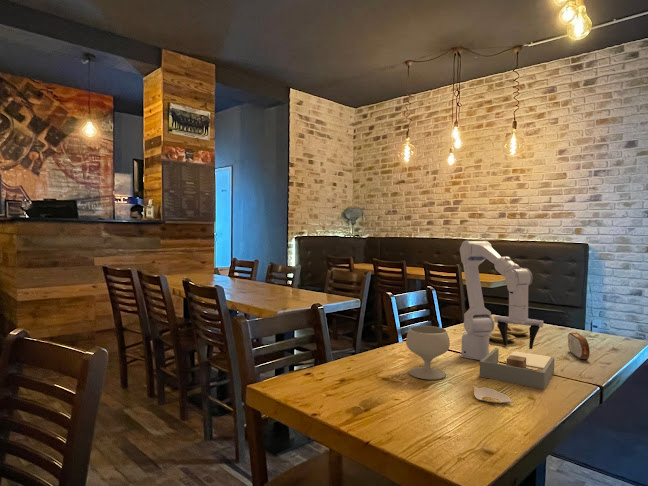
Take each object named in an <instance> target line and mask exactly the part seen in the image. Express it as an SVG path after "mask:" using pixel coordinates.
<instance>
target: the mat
mask: <svg viewBox="0 0 648 486" xmlns="http://www.w3.org/2000/svg"><path fill="white" fill-rule="evenodd" d="M510 355H514V356H520V357H526V367H531V368H537V369H541V370H543V368H544V367H545V365H546V364H547V362H548V361H549V359H550V358H551V357H552V356H548V355H540V354H537V353H536V354H535V353H530V352H529V353H528V352H522V351H517V350H516V351H515V350H513V351H512V352H511V353H510V354H509V355H508V356H507V357H506V358H505V359H504V360H503V362H504V363H507V358H508V357H509V356H510Z"/></svg>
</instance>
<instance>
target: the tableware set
mask: <svg viewBox="0 0 648 486" xmlns="http://www.w3.org/2000/svg"><path fill="white" fill-rule="evenodd" d="M528 333H529V329H525V328H523V327H522V328H521V327H513V326H510V325H509V324H508V329H507V340H508V342H507V345H506V346H505V345H504V342H503V338H502V335H501V333H500V332H491V335H489V345H492V346H496V347H515V346H518V345H519V344H518V341H516V340H528V339H529V340H530V334H528ZM526 346H527V344H521V345H519V346H518V347H517V348H516V350H521V349H523V348H524V347H526Z"/></svg>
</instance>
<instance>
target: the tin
mask: <svg viewBox="0 0 648 486" xmlns="http://www.w3.org/2000/svg"><path fill="white" fill-rule="evenodd" d="M567 344H568V345H567V347H568V350H569V352H570V353H571V355H573V356H575V357H576V358H577V359H578V360H589V358H590V356H591V355H590V353H591V351H590V345H589V342H588V339H587V338H586V337H585V336H583V335H582V334H580V333H579V332H569V333H568V335H567Z"/></svg>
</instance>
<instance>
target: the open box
mask: <svg viewBox="0 0 648 486" xmlns="http://www.w3.org/2000/svg"><path fill="white" fill-rule="evenodd" d="M499 348H500V347H499ZM499 348H497V347H495V348H494V349H492V350H491V351H489V354H488V355H487V356H486V357H484V358H483V359H482V360H479V377H481V378H486V379H491V380H495V381H502V382H507V383H511V384H516V385H520V386H527V387H530V388H536V389H539V390H540V389H541V390H545V389H546V387H547V386H548V383H549V382H550V380H551V379H552V377H553V375H554V373H555V356H550V357H551V358H550V359H549V361H548V362H547V364H546V365H545V367H544V368H543V369H541V371H540V370H536V369H530V368H526V369H525V368H520V367H514V366H508V365H506V364H504V363H503V364H501V363H499V356H500V355H499V353H500V352H499Z"/></svg>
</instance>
